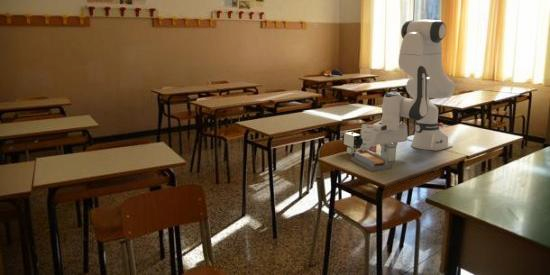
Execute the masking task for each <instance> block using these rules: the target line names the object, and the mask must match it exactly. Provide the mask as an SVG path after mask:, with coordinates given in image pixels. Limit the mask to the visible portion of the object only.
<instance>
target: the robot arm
mask: <svg viewBox="0 0 550 275" xmlns="http://www.w3.org/2000/svg"><path fill="white" fill-rule="evenodd" d="M446 33H447V26H446V24H445V23H444V21H443V20H438V19H435V20H434V19H419V20H412V19H411V20H408V21H405V22H404V23H403V25H402V26H401V29H400V34H401V38H402V41H401V44H400V50H399V55H398V66H399V68H400V70H401V71H402V72H404V74H406V75H408V76H410V78H409V79H408V80H407V82H406V85H405V89H406V92H407V93H408V95H410V96H411V97H412V98H408V97H405V96H402V95H401V93H400V92H397V91H391V92H390V91H388V92H387V93H385V94H384V96H383V99H382V104H381V112H382V115H381V117H380V118H381V120H379V121H377V122H375V123H373V124H371V125H372V127H371V128H373V130H372V132H371V138H370V142H371V143H372V144H374V145H377V146H378V145H379V146H380V149H381V148H382V152H386V148H384V146H385V144H388V143H392V144H394V145H396V147H397V146H398V143H403V142H405V143H406V142H407V140H408V136H409V135H408V125H407V124H406V123H404V122H403V123H400V118H401V117H402V118H406V119H410V120H413V121H415V124H414V135H413V139H412V142H411V144H410V145H411V146H412V147H413V148H414V149H415V148H416V149H419V150H426V151H427V150H428V151H433V152H434V151H440V150H445V149H448V148H452V147H453V144H451V143H449V137H448V135H447V134H446V133H445V132H443V130H441V128H442V127H444V123H443V122H439V121H438V118H439V109H438V106H437V105H435V104H433V103H432V102H431V100H430V98H431V99H432V98H433V99H449V98H451V97H452V96H453V95H454V93H455V90H456V85H455V83H454V81H453V80H452V79H450V78H449V77H448V75H447V74H446V73H445V70H444V67H443V57H442V55H443V46H442V45H443V43H442V41H443V39H444V38H445V36H446V35H447V34H446Z"/></svg>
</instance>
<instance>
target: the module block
mask: <svg viewBox="0 0 550 275" xmlns="http://www.w3.org/2000/svg"><path fill="white" fill-rule="evenodd" d="M384 148H386V152H382V148H381V147H380V156H382V157H384V158H387V159H388V162H395V161H396V157H397V156H396V155H397V154H396V153H397V146H396V145H394V144H393V143H388V144H385V146H384Z"/></svg>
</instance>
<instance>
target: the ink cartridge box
mask: <svg viewBox="0 0 550 275" xmlns="http://www.w3.org/2000/svg"><path fill="white" fill-rule="evenodd" d="M372 125H373V124H365V123H364V124H361V130H360V135H362V136H361V137H362V139H363V143H362V145H361V147H360V151H363V150H370V151H372V152H377V147H378V145H374V144H372V143H371V142H370V138H371V132H372V130H373V128H372Z"/></svg>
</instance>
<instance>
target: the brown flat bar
mask: <svg viewBox="0 0 550 275" xmlns="http://www.w3.org/2000/svg"><path fill="white" fill-rule="evenodd" d="M361 154H362V155H364V156H366V157H368V158H370V159H372V160H374V161H375V164H379V163H384V161H383V160H381V159H379V158H377V157H375V156H373V155H371V154H369V153H367V152H364V153H361Z"/></svg>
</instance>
